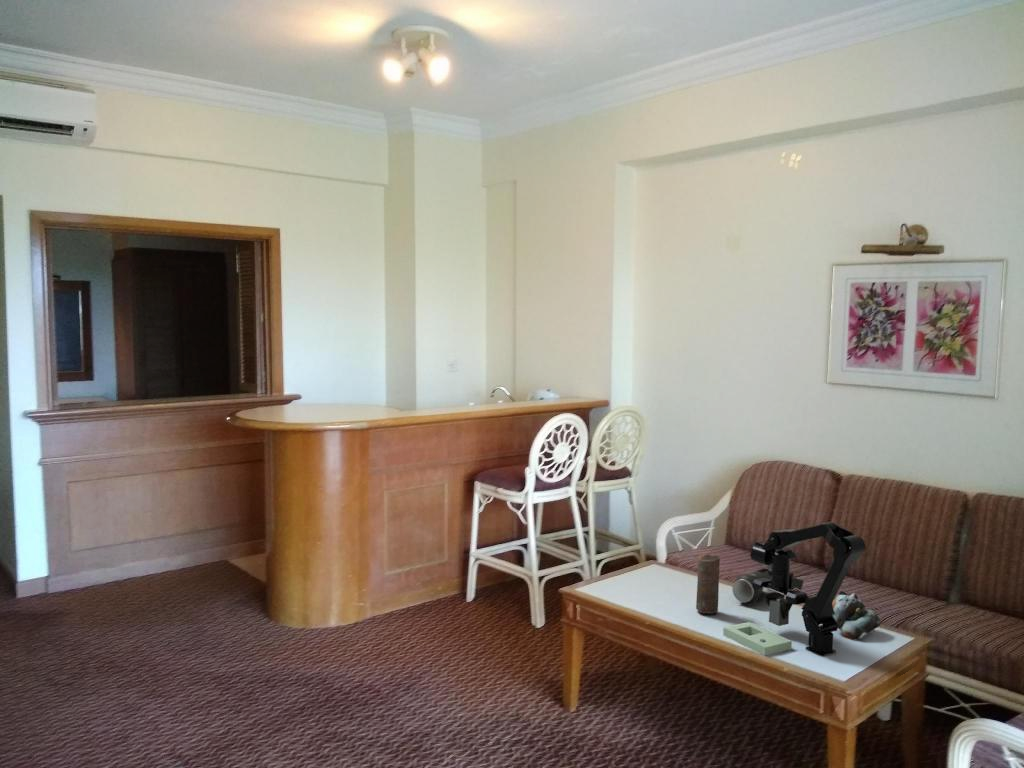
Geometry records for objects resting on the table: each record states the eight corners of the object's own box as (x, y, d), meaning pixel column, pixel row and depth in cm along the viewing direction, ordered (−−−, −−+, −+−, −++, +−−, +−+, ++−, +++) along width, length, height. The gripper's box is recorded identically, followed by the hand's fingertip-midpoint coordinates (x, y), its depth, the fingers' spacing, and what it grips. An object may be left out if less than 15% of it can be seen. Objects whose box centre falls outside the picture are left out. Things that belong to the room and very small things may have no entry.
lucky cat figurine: (854, 643, 251) (832, 600, 254) (831, 644, 262) (811, 603, 265) (890, 624, 255) (868, 582, 259) (866, 626, 266) (846, 586, 270)
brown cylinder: (720, 616, 273) (722, 559, 271) (699, 616, 273) (700, 558, 271) (714, 609, 280) (716, 552, 279) (693, 608, 280) (695, 552, 279)
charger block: (788, 623, 257) (789, 601, 257) (778, 626, 255) (779, 603, 255) (778, 619, 261) (779, 597, 260) (769, 621, 259) (769, 599, 258)
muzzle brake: (791, 592, 300) (792, 564, 299) (754, 610, 280) (755, 580, 279) (767, 586, 307) (768, 559, 306) (729, 603, 287) (730, 574, 286)
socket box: (791, 649, 246) (791, 640, 245) (764, 655, 241) (765, 646, 240) (749, 629, 262) (749, 621, 261) (723, 635, 256) (723, 626, 256)
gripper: (821, 573, 252) (820, 622, 253) (777, 558, 269) (775, 604, 270) (796, 578, 247) (794, 628, 248) (752, 562, 264) (750, 609, 265)
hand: (778, 616), depth 258 cm, fingers closed on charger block, 4 cm apart
